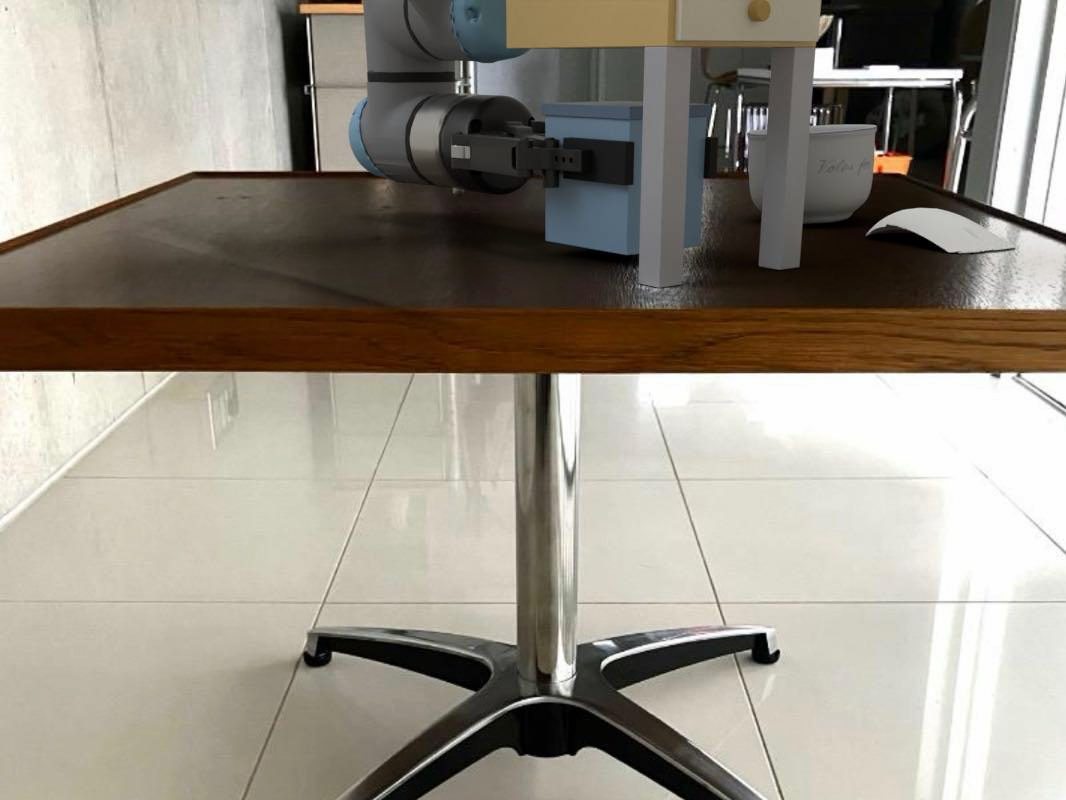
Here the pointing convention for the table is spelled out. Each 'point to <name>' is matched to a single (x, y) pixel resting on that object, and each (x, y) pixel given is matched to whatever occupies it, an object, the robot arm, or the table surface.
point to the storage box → (612, 209)
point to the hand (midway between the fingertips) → (672, 160)
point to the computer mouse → (943, 230)
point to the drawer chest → (667, 36)
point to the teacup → (825, 170)
